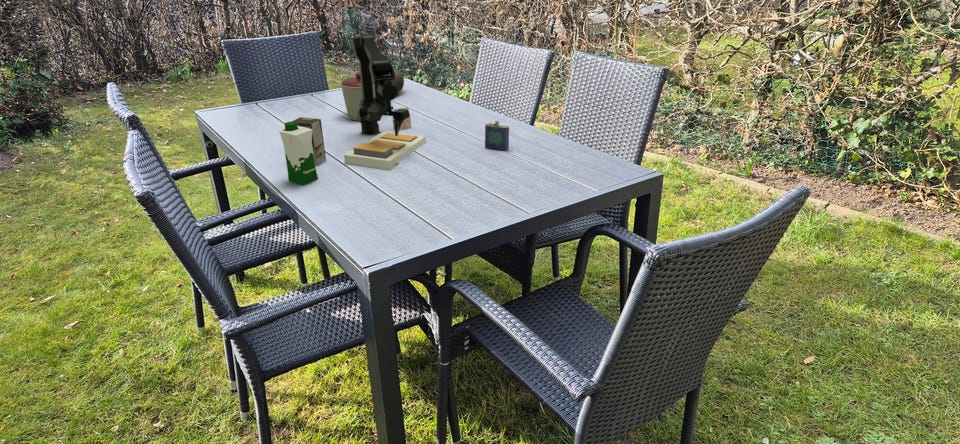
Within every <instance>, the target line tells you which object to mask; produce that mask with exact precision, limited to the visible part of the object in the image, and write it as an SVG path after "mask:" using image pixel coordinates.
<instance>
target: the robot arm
mask: <svg viewBox="0 0 960 444" xmlns="http://www.w3.org/2000/svg"><path fill="white" fill-rule="evenodd" d="M350 45H351V46H350V47H351V50H352V52H353V55H354V57H355V58H356V59H357V61H358V68H359V70H360V79H361V88H362V99H361V101H360V103H359V108H360V109H359V110H358V115H357V117H358V121H357V122H359V123H360V126H361V133H362V134H364V135H367V136H368V135H369V136H371V135H379V134H380V126H379V125H380V124H379V123H378V122H380V121H381V120H382V116H387V117H388V116H390V117H392V123H393V122H394V124H395V129H394V133H395V136H398V133H400V131H401V130H400V128H401V125H402V123H403V121H404V120H405V119H407V118H408V117H411V113H410V110H409V111H408V110H407V109H399V108H397V109H398V110H396V111H394V106H393V105H392V101H393V100H395V99H396V98H397V96H398V94H399V93H398V91H397V88H396V87H395V86H394V85H393V84H392V82H391V80H395V72H394V69H395V68H394V67H393V64H392V62H391V61H390V59H389V58H388V57H387V56H386V55H383V54H382V53H381V51H380V49H379V47H378V45H377V43H376V40H375V35H374V34H370V33H369V34H361V35H359V36H358V37H356V38H353V39H352V40H351V43H350ZM385 75H388V76H385ZM372 79H373V81H374V90H375V98H374V96H373V86H372ZM409 113H410V114H409ZM393 118H394V119H395V120H393Z"/></svg>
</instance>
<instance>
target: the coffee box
mask: <svg viewBox="0 0 960 444" xmlns="http://www.w3.org/2000/svg"><path fill="white" fill-rule="evenodd" d="M291 122H297V126H301V127H306V128H309V129H313V131H312V147H313V155H314V162H315V167H317V166H320V165H322V164H323V163H325V162H327V157H326V149H325V140H324V134H323V127H322V119H321V118H313V117H302V116H301V117H298V118H295V119H294V120H292V121H291Z"/></svg>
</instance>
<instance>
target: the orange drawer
mask: <svg viewBox="0 0 960 444" xmlns="http://www.w3.org/2000/svg"><path fill="white" fill-rule="evenodd" d="M369 144H373V145H381V146H389V147H392V149H394V150H400V149H401V148H403V147H404V146H405V143H397V142H389V141H381V140H374V141H373V142H371V143H369Z"/></svg>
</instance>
